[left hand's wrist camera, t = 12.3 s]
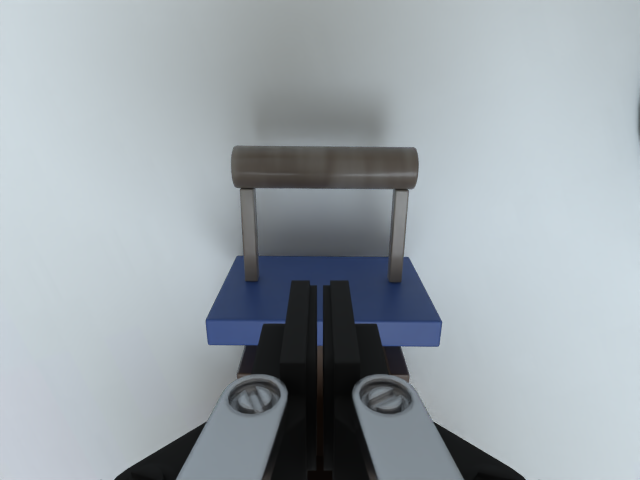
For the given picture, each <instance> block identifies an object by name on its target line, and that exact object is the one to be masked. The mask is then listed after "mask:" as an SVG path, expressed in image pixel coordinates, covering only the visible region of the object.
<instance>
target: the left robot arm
mask: <svg viewBox="0 0 640 480" xmlns="http://www.w3.org/2000/svg"><path fill="white" fill-rule="evenodd" d="M316 453H317V285H310V280H292V281H291V287H290V294H289V301H288V307H287V314H286V321H285V324H263V326H262V330H261V334H260V338H259V342H258V347H257V351H256V355H255V359H254V363H253V368H252V372H251V375H248V376H244V377H241V378H239V379H237V380H235V381H233V382H232V383H231V384H229V385H228V386H227V387H226V389H225V390H224V391H223V393H222V395H221V397H220V398H219V400H218V402H217V404H216V406H215V408H214V410H213V411H212V413H211V415H210V417H209V419H208V421H207V422H205V423H204V424H202V425H200V426H199V427H197V428H195V429H193V430H192V431H190V432H188V433H187V434H185V435H183V436H182V437H180V438H178V439H177V440H175V441H173V442H172V443H170V444H168V445H167V446H165V447H163V448H162V449H160V450H158V451H157V452H155V453H153V454H152V455H150V456H148V457H147V458H145V459H143V460H141V461H140V462H138V463H136V464H135V465H133V466H131V467H130V468H128V469H127V470H125V471H124V472H123V473H121V474H120V475H119V476H117V477H116V478H115V479H114V480H307V473H308V471H316ZM323 453H324V471H332V473H333V480H526V479H525V478H524V477H523V476H521V475H520V474H519V473H517V472H516V471H515V470H513V469H512V468H510V467H509V466H507V465H505V464H504V463H502V462H500V461H499V460H497V459H495V458H493V457H492V456H490V455H488V454H487V453H485V452H483V451H482V450H480V449H478V448H477V447H475V446H473V445H472V444H470V443H468V442H467V441H465V440H463V439H462V438H460V437H458V436H457V435H455V434H453V433H452V432H450V431H448V430H447V429H445V428H443V427H441V426H440V425H438V424H436V423H435V422H433V421H432V419H431V417H430V415H429V413H428V411H427V410H426V408H425V406H424V404H423V402H422V400H421V398H420V397H419V395H418V393H417V391H416V390H415V389H414V387H413V386H412V385H411V384H409V383H408V382H407V381H405V380H403V379H401V378H399V377H396V376H392V375H389V372H388V368H387V363H386V359H385V355H384V351H383V347H382V342H381V338H380V334H379V330H378V326H377V324H355V321H354V314H353V307H352V301H351V294H350V287H349V281H348V280H330V285H323Z"/></svg>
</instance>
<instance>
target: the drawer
mask: <svg viewBox="0 0 640 480" xmlns="http://www.w3.org/2000/svg"><path fill="white" fill-rule="evenodd" d="M418 168H419V161H418V153H417V150H416V148H414V147H319V146H235V147H234V148H233V151H232V157H231V173H232V180H233V183H234V186H235V187H236V188H241V189H240V200H241V218H242V235H243V252H244V256H237V257H236V259H235V261H234V263H233V265H232V267H231V269H230V271H229V273H228V275H227V277H226V279H225V281H224V284H223V286H222V288H221V290H220V292H219V294H218V296H217V298H216V300H215V302H214V304H213V306H212V308H211V310H210V312H209V314H208V316H207V318H206V330H207V340H208V345H245V348H244V351H243V355H242V358H241V362H240V365H239V369H238V372H237V379H239V378H241V377H244V376H248V375H251V372H252V368H253V363H254V359H255V355H256V351H257V347H258V342H259V338H260V334H261V330H262V326H263V324H285V321H286V314H287V307H288V301H289V294H290V287H291V281H292V280H310V285H317V453H316V471H308V473H307V480H333V473H332V471H324V453H323V285H330V280H348V281H349V287H350V294H351V301H352V307H353V314H354V321H355V324H377V326H378V330H379V334H380V338H381V342H382V347H383V351H384V355H385V359H386V363H387V368H388V372H389V375H392V376H396V377H399V378H401V379H403V380H405V381H407V382H408V383H409V372H408V369H407V366H406V362H405V359H404V356H403V353H402V349H401V346H424V347H438V346H439V344H440V335H441V327H442V321H441V319H440V317H439V315H438V313H437V311H436V309H435V307H434V305H433V303H432V301H431V299H430V297H429V295H428V294H427V292H426V290H425V288H424V286H423V284H422V282H421V280H420V278H419V276H418V274H417V272H416V270H415V268H414V266H413V264H412V263H411V261H410V259H409V257H404V244H405V232H406V220H407V208H408V195H409V191H408V189H413V188H414V187H415V185H416V182H417V178H418ZM255 188H309V189H393V200H392V215H391V229H390V244H389V257H327V256H258V235H257V213H256V191H255Z"/></svg>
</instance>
